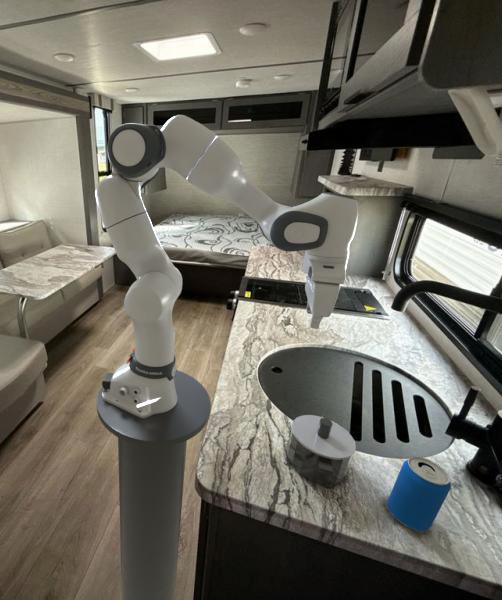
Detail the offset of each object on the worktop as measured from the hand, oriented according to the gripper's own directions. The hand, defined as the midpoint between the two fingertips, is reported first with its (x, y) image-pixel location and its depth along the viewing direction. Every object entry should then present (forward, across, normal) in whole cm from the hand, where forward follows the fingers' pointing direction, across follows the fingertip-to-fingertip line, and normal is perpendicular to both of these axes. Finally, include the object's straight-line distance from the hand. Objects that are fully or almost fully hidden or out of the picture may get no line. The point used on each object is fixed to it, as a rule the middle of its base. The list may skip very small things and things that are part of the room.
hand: (311, 319), depth 77 cm
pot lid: (+20, +18, +4) cm, 27 cm away
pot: (+27, +18, +4) cm, 33 cm away
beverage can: (+27, +25, +19) cm, 42 cm away
